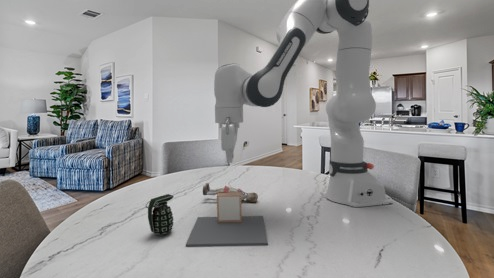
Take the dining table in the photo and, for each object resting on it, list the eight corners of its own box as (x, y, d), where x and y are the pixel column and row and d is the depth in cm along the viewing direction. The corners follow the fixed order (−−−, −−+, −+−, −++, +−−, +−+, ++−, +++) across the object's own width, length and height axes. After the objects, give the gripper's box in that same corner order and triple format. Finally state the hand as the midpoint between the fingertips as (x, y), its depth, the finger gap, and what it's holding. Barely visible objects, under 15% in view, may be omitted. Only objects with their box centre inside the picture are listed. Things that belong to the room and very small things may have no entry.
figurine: (206, 181, 95) (259, 187, 93) (205, 195, 96) (257, 202, 94) (202, 186, 89) (257, 193, 87) (201, 201, 90) (256, 208, 88)
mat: (262, 217, 77) (262, 215, 77) (267, 245, 61) (267, 242, 61) (197, 218, 77) (197, 217, 77) (185, 246, 61) (185, 244, 61)
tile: (241, 218, 75) (241, 192, 75) (241, 222, 73) (241, 195, 72) (218, 218, 75) (217, 193, 74) (217, 222, 73) (216, 195, 72)
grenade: (166, 226, 72) (165, 192, 71) (178, 232, 69) (177, 196, 68) (145, 235, 67) (143, 199, 66) (157, 241, 64) (154, 203, 63)
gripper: (238, 117, 68) (239, 167, 70) (239, 116, 89) (240, 155, 90) (215, 118, 68) (216, 167, 70) (222, 116, 89) (223, 155, 90)
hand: (230, 160), depth 80 cm, fingers open, 4 cm apart
